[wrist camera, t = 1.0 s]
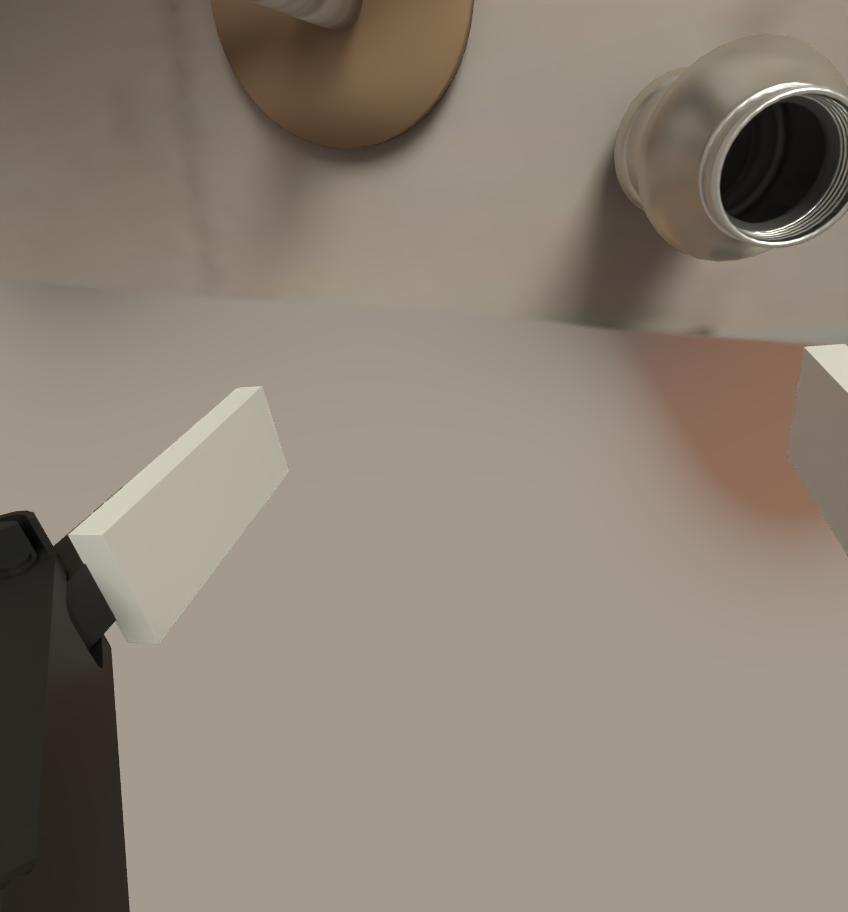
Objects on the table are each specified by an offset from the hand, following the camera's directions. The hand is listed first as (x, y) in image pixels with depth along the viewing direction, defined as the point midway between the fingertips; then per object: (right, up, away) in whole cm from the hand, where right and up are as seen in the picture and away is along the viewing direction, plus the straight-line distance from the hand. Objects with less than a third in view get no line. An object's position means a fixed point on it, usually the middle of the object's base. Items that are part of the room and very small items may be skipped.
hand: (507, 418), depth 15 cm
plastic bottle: (+11, +16, +17) cm, 26 cm away
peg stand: (-6, +23, +17) cm, 30 cm away
